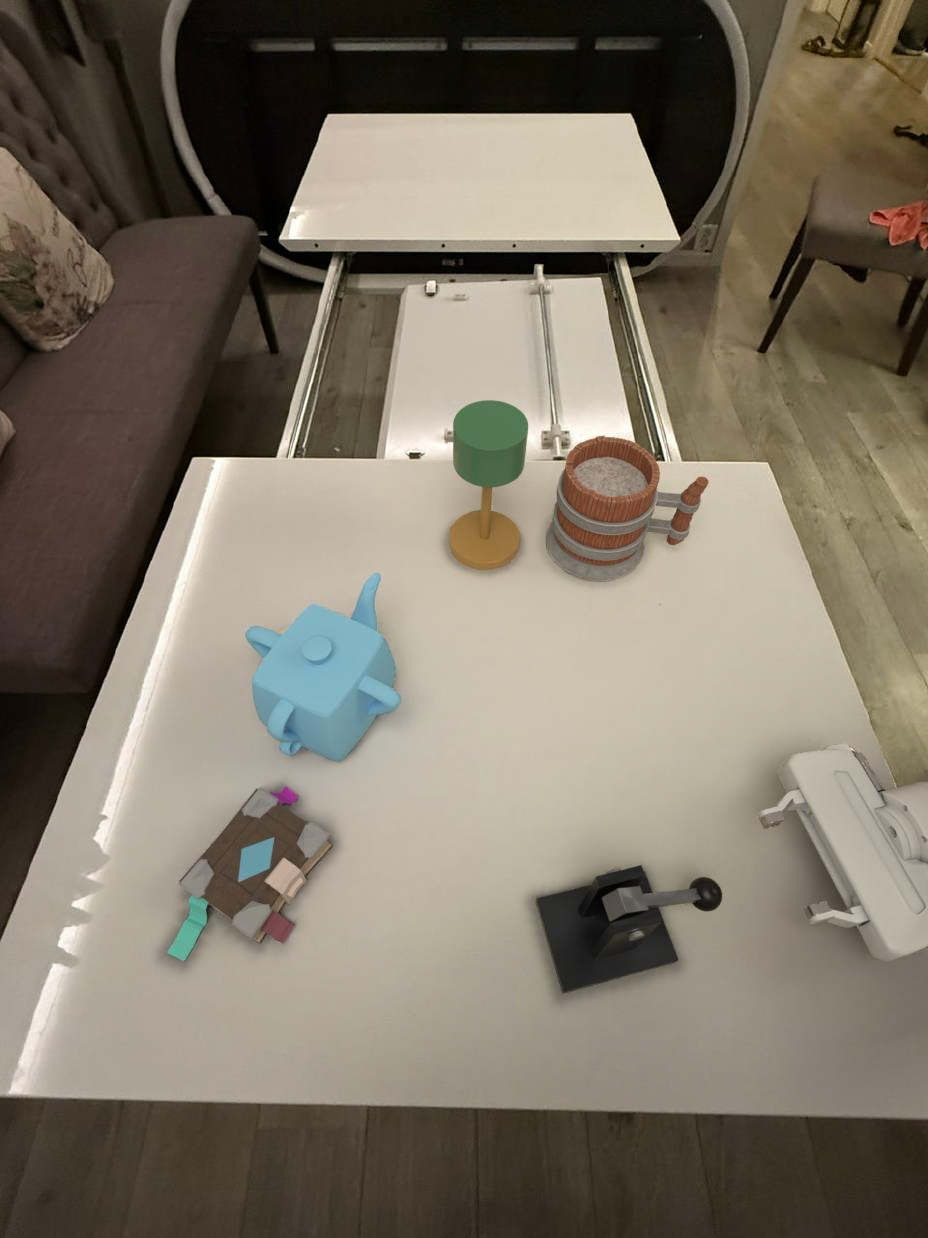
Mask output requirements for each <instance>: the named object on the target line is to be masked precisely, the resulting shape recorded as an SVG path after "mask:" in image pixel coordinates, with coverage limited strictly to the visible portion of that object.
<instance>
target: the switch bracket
mask: <svg viewBox="0 0 928 1238" xmlns="http://www.w3.org/2000/svg"><path fill="white" fill-rule="evenodd" d="M634 886H640V888H641V891H642V894H647V893H654V892H653V889H652V887H651V884H650V881H649V879H648V876H647V874H646V871H645V870H644V869H643V865H642V864H639V865H636V866H631V867H627V868H624V869H621V868H619V867H618V868H612V869H610V870H608V871H607V872H606V873H604V874H600V875H596V876H595V877H594V879H593V880H592V882H591V884H588V885H584V886H580V887H576V888H573V889H568V890H565V891H561V892H557V893H553V894H549V895H545V896H541V897H537V898H536V900H535V905H536V909H537V912H538V916H539V919H540V922H541V925H542V929H543V933H544V935H545V938H546V939H545V940H546V942H547V946H548V950H549V952H550V956H551V960H552V963H553V967H554V970H555V974H556V977H557V981H558V984H559V988H560V990H561V994H563V995H565V994H568V993H572V992H576V991H579V990H582V989H586V988H589V987H593V986H597V985H601V984H604V983H608V982H611V981H615V980H619V979H622V978H626V977H629V976H632V975H633V976H634V975H636V974H640V973H643V972H647V971H651V970H654V969H657V968H662V967H665V966H668V965H672V964H675V963H677V962H678V961H679V957H678V955H677V951H676V949H675V947H674V944H673V942H672V939H671V936H670V934H669V931H668V929H667V926H666V923H665V920H664V918H663V916H662V913H661V911H660V907H656V908H648V911H646V912H644V913H642V914H640V915H637V916H633V917H630V918H626V919H622V920H618V921H614V922H610V921H609V918H608V915H607V912H606V909H605V906H604V903H603V901H602V897H603V896H605V895H607V894H608V893H610V892H612V891H614V890H615V889H617V888H624V887H634Z"/></svg>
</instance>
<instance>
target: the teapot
mask: <svg viewBox="0 0 928 1238" xmlns="http://www.w3.org/2000/svg"><path fill="white" fill-rule="evenodd" d="M381 581H382V575H381V573H379V572H375V573H373V574H371V575H370V576H369V577H368V578H367V579H366V580H365V582H364V584H363V586H362V589H361V591H360V594H359V596H358V599H357V602H356V604H355V607H354V610H353V612H352V615H351V617H348V616H345V615H343V614H341V613H338V612H336V611H334V610H331V609H329V608H328V607H327V608H326V607H324V606H322V605H319V604H316V603H313V604H309V606H307V607H306V608H305V609H304V610H303V611H302V612H301V613H300V614H299V615H298V616H297V617H296V619H294V621H293V622H292V623H291V624H290V625H289V626H288V627H287V629H286V630H285V631H284V632H283V634H280V633H278V632H277V631H274V630H271V629H269V628H266V627H263V626H259V625H252V626H250V627H249V628H247V630H246V631H245V639H246V641H247V642H248V644H249V645H250V646H251V648H252V649H254V651H255V652H257V654H258V655H259V656H261V657H262V658H263V659H262V661H261V663H260V664H259V665H258V667H257V669H256V670H255V672H254V674H253V676H252V680H251V687H252V689H251V690H252V697H253V704H254V708H255V711H256V714H257V717H258V719H259V721H260V722H261V723H262V724H264V725H265V726H266V729H267V732H268V734H269V735H270V736H271V737H272V738H273V739H275V740H276V741H278V742H279V741H280V743H279V746H278V747H279V751H281V753H282V754H284V755H285V756H294V755H295V754H297V753H298V752H299V751H300V750H301V748H302V747H303V748H305V749H307V750H308V751H310V752H312V753H314V754H316V755H319V756H321V757H324V758H325V759H328V760H331V761H333V762H338V763H339V762H341V761H343V760H344V759H345V758H346V757H347V756H348V755H349V754H350V752H351V751H352V750H353V749H354V748H355V747H356V745H357V744H358V743H359V741H360V740H361V739H362V737H363V736H364V735H365V734H366V732H367V731H368V730H369V728H370V727H371V725H372V724H373V723H374V721H375V719H376V718H377V716H379V715H388V714H391V713H393V712H395V711H396V710H398V708H399V707H400V705H401V703H402V698H401V695H400V694H399V692H398V691H397V690H396V689H394V688H393V686H394V683H395V680H396V676H397V668H396V662H395V658H394V655H393V652H392V650H391V648H390V646H389V643H388V642H387V640H386V637H385V635H384V634H382V633H381V632H379V631H378V628H379V627H378V619H377V618H378V617H377V612H376V605H375V603H376V595H377V591H378V588H379V587H380V584H381Z"/></svg>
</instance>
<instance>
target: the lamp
mask: <svg viewBox="0 0 928 1238" xmlns="http://www.w3.org/2000/svg"><path fill="white" fill-rule="evenodd" d="M528 435H529V421H528V419H527V417H526V415H525V414H524V413H523V411H521V409H519V408H518V407H516V406H515V405H513V404H511V403H508V402H505V401H501V400H494V399H493V400H492V399H487V400H486V399H485V400H479V401H474V402H471V403H469V404H467V405H465V406H463V407H462V408H460V409H459V411H458V412H457V413H456V414H455V416H454V418H453V422H452V465H453V468H454V471H455V473H456V474H457V475H458V476H459V477H460V478H461V479H462V480H463V481H465V482H466V483H469V484H470V485H473V486H477V487H481V497H480V498H481V501H480V502H481V503H480V510H473V511H470V512H466V513H464V514H463V515H461V516H460V517H458V518H457V519H456V520H455V521H454V522H453V524H452V525H451V528H450V530H449V534H448V535H449V549H450V551H451V553H452V555H453V556H454V558H455V559H456V560H457V561H458V562H459V563H461V564H462V565H464V566H465V567H467V568H471V569H474V570H479V571H491V570H497V569H501V568H503V567H505V566H506V565H508V564H509V563H511V562H512V561H513V560H514V559H515V557H517V554H518V552H519V549H520V543H521V534H520V531H519V530H520V529H519V527H518V526H517V525H516V522H514V521H513V520H512V519H511V518H510V517H508V516H507V515H505V514H503V513H501V512H499V511H494V510H492V505H493V504H492V503H493V491H494V489H493V488H499V487H502V486H503V487H504V486H506V485H509V484H511V483H512V482H514V481H516V480H517V479H518V478H519V477H520V476H521V475H522V473H523V471H524V469H525V462H526V453H527V444H528Z"/></svg>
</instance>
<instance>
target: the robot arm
mask: <svg viewBox="0 0 928 1238" xmlns="http://www.w3.org/2000/svg"><path fill="white" fill-rule="evenodd" d="M777 776H778V778H779V780H780V783H781V785H782V786H783V788H784V790H785V792H786V794H784V796H783V797H781V799H780V800H779V801H778V802H777V803H776V805H775V806H773V807H768V808H766V809H765V808H764V809H762V810H761V811H759V812H758V813H757V815H756V816H757V818H758V820H759V822H760V824H761V826H762V828H763V829H764V830H766V829H769V828H775V827H778V826H780V825H781V823H783V822H784V821H785V817H784V815H783V813H782V812H783V811H784V810H786V811H787V812H792V811H796V813H797V815H798V817H799V819H800V821H801V822H802V825H803V826H804V829H805V830H806V833H807V834H808V836H809V838H810V840H811V842H812V844H813V846H814V848H815V850H816V851H817V854H818V855H819V857H820V859H821V861H822V863H823V865H824V867H825V868H826V870H827V872H828V875H829V876H830V878H831V880H832V882H833V884H834V886H835V889H836V890H837V892H838V893H839V895H840V897H841V900H842V901H843V903H844V905H845V907H846V910H844V911H840V910H836V909H832V908H830V906H829V904H828V902H827V900H823V901H820V902H818V903H812V904H810V905H807V906H806V907H804V908H803V912H804V913H805V916H806V918H807V920H808V921H809V925H816V924H819V923H822V922H826V923H828V924H831V925H835V926H838V927H842V928H845V929H850V928H854V927H856V928H857V930H858V932H859V934H860V935H861V937H862V939H863V941H864V943H865V945H866V947H867V949H868V951H869V953H870V955H871V956H872V957H873V958H875V959H878V960H879V961H880V960H881V961H883V962H885V963H889V962H892V961H895V960H898V959H901V958H904V957H905V956H908V955H911V954H913V953H916V952H919V951H920V950H923V949H925V948H927V947H928V781H926V780H925V781H923V780H922V781H917V782H913V783H910V784H909V783H908V784H905V785H902V786H898V787H893V788H890V789H885V787H884V786H883V784H882V782H881V780H880V779H879V777H878V776H877V774H876V773H875V772H874V770H872V768H871V766H870V765H869V761H868V759H867V758H866V756H865V755H864V754H863V753H862V752H861V751H859V752H858V751H857V750H856V749H855V748H854V747H852V746H851V745H849V744H847V743H837V744H833V745H829V746H826V747H824V748H823V749H818V750H817V749H815V750H809V751H808V750H807V751H802V752H797V753H793V754H791V755H789V756H788V757H787V758H786V759H785V760H784V761H783V762H782V763H781V765H780V767H779V769H778V772H777Z"/></svg>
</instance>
